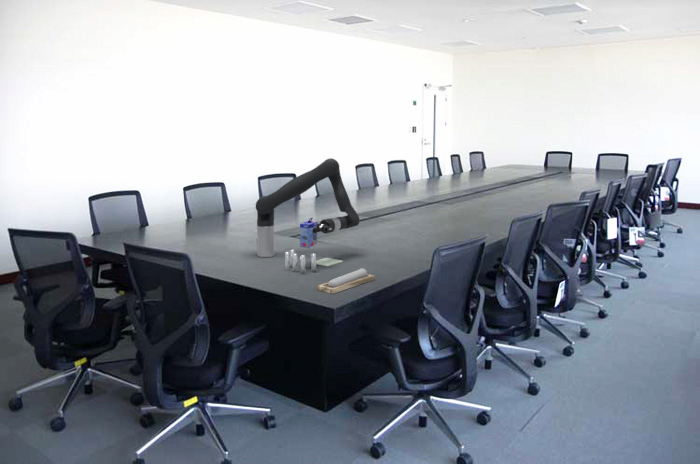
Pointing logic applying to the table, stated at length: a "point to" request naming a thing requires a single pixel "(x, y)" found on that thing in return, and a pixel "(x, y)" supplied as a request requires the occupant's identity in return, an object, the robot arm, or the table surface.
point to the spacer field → (293, 261)
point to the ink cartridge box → (308, 234)
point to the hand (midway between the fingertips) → (308, 230)
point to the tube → (348, 278)
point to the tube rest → (344, 285)
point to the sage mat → (328, 262)
